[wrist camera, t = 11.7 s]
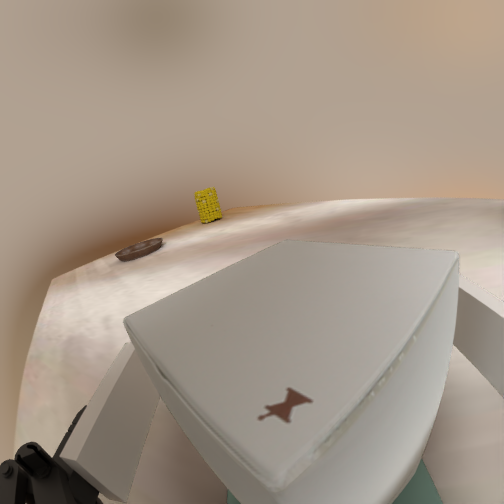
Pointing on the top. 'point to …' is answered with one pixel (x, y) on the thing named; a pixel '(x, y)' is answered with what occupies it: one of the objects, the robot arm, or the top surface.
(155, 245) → the plant saucer
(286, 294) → the supplement box
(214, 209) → the food
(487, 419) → the top surface
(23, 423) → the top surface
